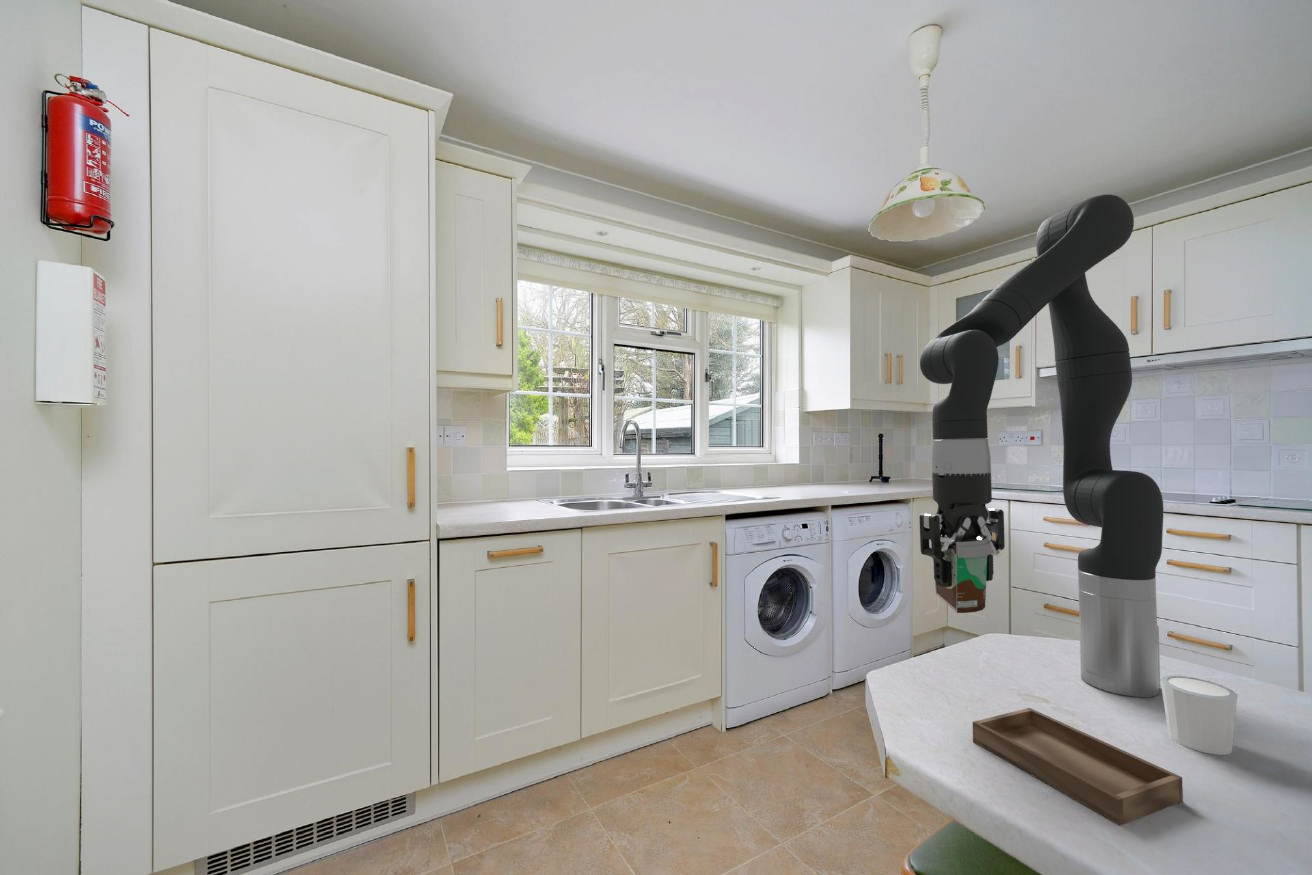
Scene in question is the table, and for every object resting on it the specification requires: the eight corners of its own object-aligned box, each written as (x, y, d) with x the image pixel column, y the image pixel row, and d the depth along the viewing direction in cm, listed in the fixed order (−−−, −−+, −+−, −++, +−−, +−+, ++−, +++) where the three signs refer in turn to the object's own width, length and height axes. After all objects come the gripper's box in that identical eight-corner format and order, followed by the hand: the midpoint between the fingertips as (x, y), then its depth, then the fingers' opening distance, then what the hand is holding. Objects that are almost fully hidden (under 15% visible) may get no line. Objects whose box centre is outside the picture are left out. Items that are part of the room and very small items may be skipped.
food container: (1011, 617, 72) (1007, 542, 72) (960, 616, 74) (957, 542, 74) (975, 592, 84) (972, 527, 85) (932, 591, 86) (930, 528, 86)
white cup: (1226, 763, 63) (1224, 703, 63) (1151, 736, 69) (1150, 681, 69) (1249, 748, 66) (1247, 690, 66) (1175, 723, 72) (1174, 670, 73)
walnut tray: (1029, 726, 72) (1029, 707, 72) (1182, 801, 57) (1182, 777, 57) (972, 741, 68) (972, 721, 68) (1119, 825, 53) (1118, 799, 53)
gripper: (974, 467, 85) (977, 572, 85) (902, 471, 80) (905, 582, 80) (1020, 469, 78) (1024, 583, 78) (945, 473, 73) (949, 595, 73)
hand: (964, 582), depth 79 cm, fingers closed on food container, 7 cm apart
